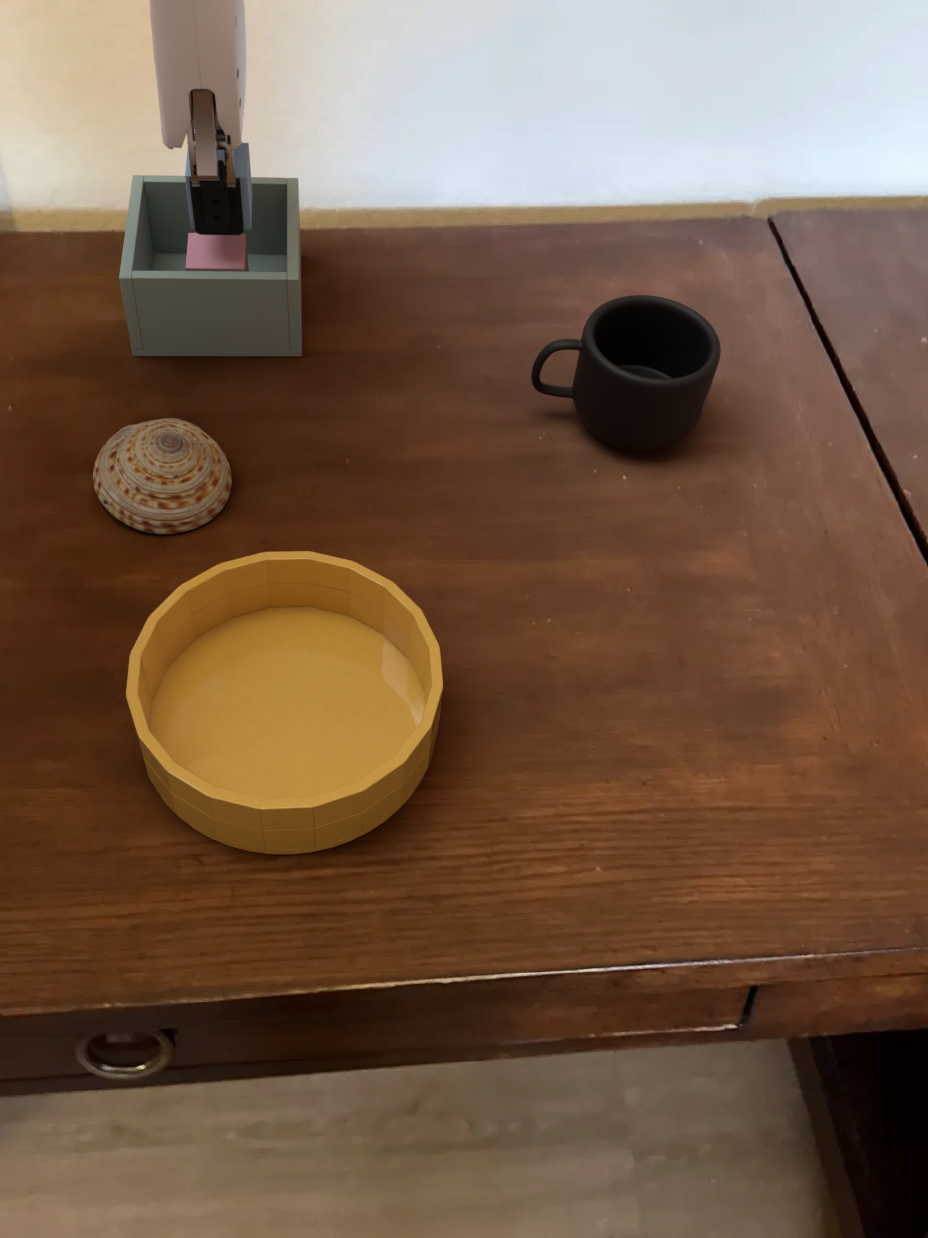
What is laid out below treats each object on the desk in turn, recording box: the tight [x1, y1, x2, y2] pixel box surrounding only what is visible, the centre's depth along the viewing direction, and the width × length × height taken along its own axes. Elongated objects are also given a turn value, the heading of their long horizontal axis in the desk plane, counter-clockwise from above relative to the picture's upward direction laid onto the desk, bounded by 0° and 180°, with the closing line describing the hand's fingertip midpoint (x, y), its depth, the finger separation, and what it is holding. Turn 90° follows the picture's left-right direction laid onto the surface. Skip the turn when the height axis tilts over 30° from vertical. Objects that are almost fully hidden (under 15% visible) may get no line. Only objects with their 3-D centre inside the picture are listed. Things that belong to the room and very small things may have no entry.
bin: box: [118, 174, 303, 357], centre depth 85 cm, size 12×12×7 cm
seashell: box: [92, 417, 233, 535], centre depth 76 cm, size 8×6×8 cm
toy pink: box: [186, 233, 249, 272], centre depth 86 cm, size 4×4×4 cm
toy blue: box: [184, 142, 252, 229], centre depth 82 cm, size 4×4×4 cm
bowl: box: [125, 550, 444, 855], centre depth 65 cm, size 16×16×5 cm
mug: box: [530, 294, 722, 452], centre depth 81 cm, size 12×9×7 cm
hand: (220, 209), depth 83 cm, fingers closed on toy blue, 3 cm apart
